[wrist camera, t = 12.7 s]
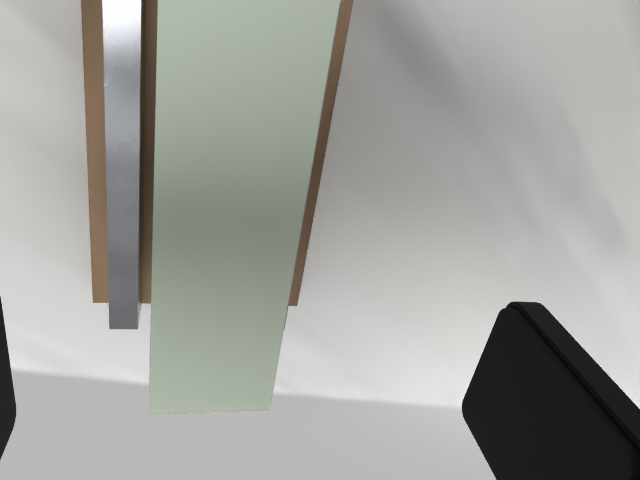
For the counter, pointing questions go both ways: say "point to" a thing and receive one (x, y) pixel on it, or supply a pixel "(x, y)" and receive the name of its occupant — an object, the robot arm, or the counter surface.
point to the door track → (148, 150)
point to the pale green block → (230, 192)
